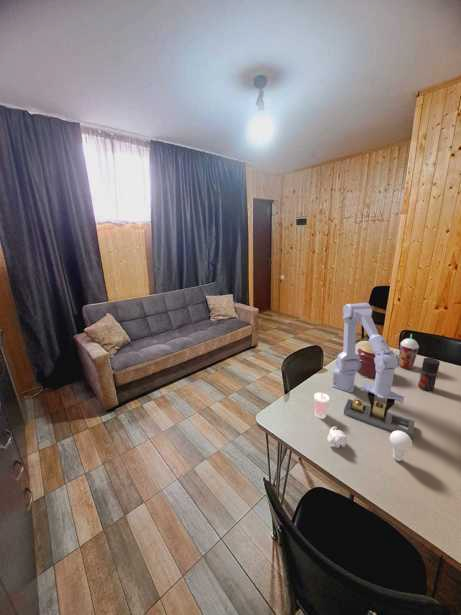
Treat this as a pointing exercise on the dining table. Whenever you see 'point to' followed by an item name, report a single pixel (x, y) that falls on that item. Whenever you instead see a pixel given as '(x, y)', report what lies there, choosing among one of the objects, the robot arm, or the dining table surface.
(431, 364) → the deodorant
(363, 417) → the rack rail
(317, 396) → the beverage cup
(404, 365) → the smoothie
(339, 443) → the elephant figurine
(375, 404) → the knobbed gold cube
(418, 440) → the dining table surface
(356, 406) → the gold knobbed block
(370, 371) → the canister
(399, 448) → the lightbulb
